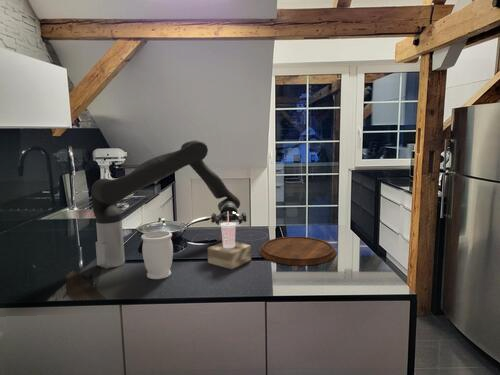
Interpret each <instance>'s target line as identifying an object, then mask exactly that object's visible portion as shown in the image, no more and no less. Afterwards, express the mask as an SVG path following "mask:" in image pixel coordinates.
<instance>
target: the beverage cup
mask: <svg viewBox="0 0 500 375" xmlns="http://www.w3.org/2000/svg"><path fill="white" fill-rule="evenodd" d="M227 217H228V222H223V223H219V226H220V228H221V230H220V231H221V239H222V242H223V247H224V248H233V247H235V242H236V227H237V222H229V211H227Z"/></svg>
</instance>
